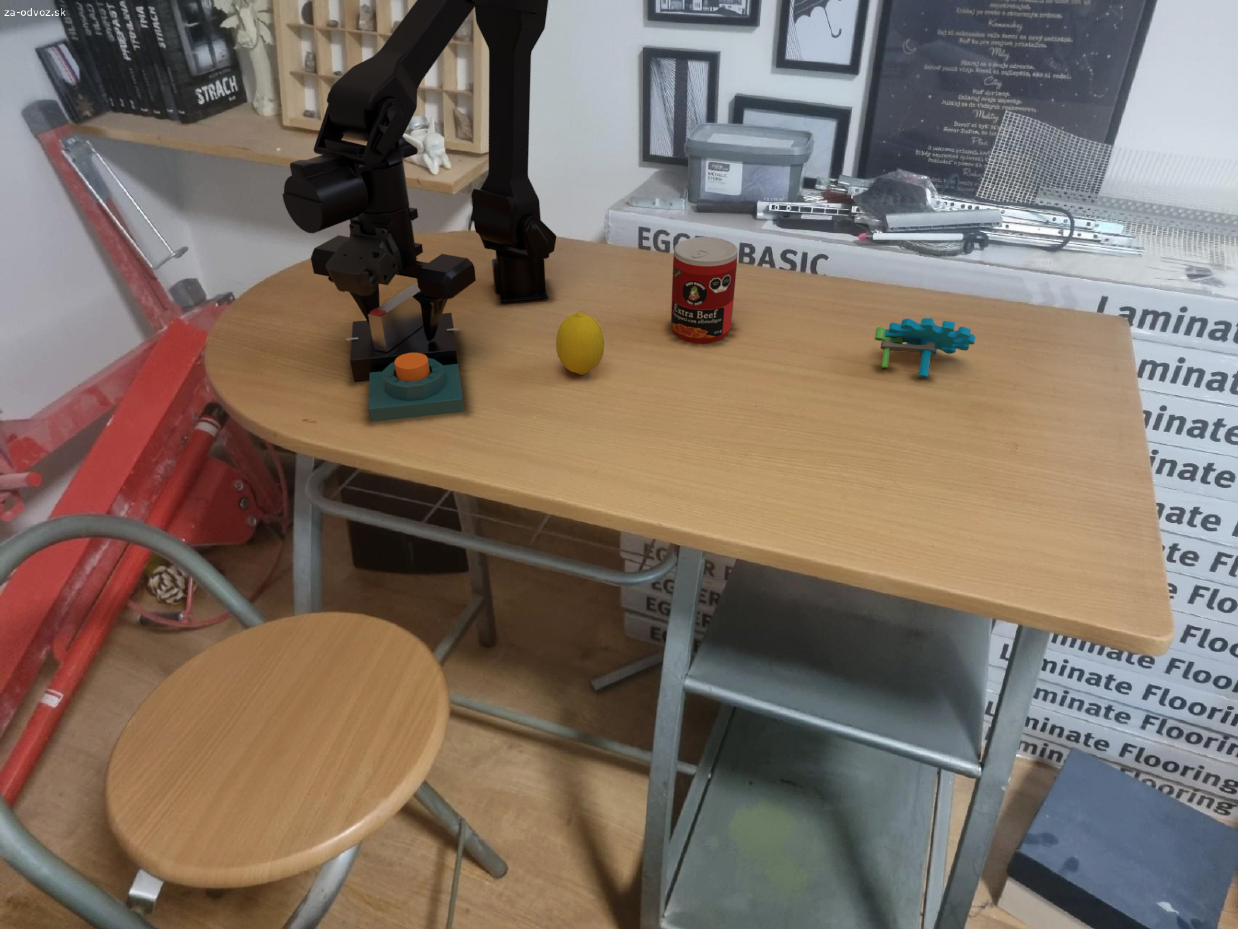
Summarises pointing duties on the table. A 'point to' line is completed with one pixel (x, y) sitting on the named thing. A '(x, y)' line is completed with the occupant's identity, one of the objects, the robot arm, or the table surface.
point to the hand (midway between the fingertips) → (402, 333)
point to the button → (412, 367)
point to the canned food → (703, 289)
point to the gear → (923, 340)
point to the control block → (415, 393)
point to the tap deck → (400, 348)
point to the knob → (395, 320)
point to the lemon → (580, 343)
